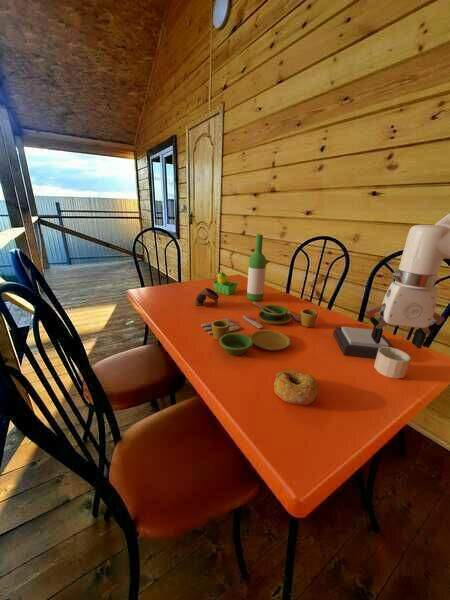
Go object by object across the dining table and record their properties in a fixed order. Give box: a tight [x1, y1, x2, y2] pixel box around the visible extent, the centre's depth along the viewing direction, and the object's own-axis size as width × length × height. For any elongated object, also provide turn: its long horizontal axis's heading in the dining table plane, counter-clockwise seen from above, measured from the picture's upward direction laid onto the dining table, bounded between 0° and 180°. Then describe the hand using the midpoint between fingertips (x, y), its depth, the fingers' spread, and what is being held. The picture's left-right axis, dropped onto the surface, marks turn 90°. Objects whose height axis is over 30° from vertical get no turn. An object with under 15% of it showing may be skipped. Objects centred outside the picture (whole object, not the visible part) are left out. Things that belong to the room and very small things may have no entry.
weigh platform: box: [341, 326, 389, 348], centre depth 80 cm, size 10×10×2 cm
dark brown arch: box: [194, 287, 220, 307], centre depth 111 cm, size 12×9×8 cm
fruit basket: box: [212, 271, 239, 296], centre depth 128 cm, size 11×9×11 cm
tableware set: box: [200, 301, 319, 357], centre depth 88 cm, size 41×28×6 cm
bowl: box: [373, 347, 412, 380], centre depth 67 cm, size 7×7×6 cm
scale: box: [332, 326, 396, 360], centre depth 80 cm, size 16×14×3 cm
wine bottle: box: [246, 233, 267, 302], centre depth 117 cm, size 8×8×30 cm
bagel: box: [273, 370, 320, 406], centre depth 58 cm, size 10×11×5 cm
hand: (395, 343), depth 66 cm, fingers open, 9 cm apart
